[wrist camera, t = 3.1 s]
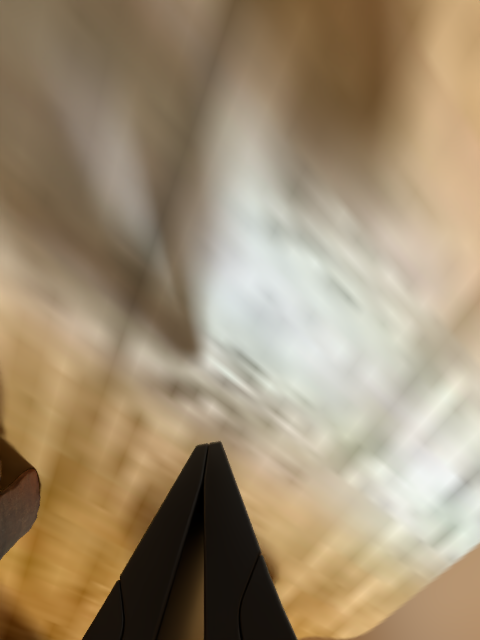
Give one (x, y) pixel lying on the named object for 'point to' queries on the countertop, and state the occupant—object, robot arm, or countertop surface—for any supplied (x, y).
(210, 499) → the robot arm
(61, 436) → the countertop surface
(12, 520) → the brown looped piece
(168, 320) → the countertop surface
